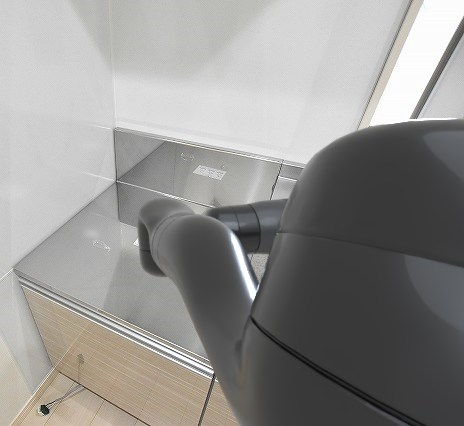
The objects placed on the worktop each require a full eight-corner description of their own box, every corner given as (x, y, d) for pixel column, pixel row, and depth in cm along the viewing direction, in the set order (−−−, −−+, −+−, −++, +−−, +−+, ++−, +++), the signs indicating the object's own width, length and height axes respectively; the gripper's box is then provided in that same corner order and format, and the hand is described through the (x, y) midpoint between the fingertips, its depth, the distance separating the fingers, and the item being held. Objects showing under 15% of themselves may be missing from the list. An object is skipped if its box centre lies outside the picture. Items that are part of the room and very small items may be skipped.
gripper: (318, 238, 33) (449, 224, 34) (262, 178, 45) (362, 169, 46) (299, 283, 37) (416, 269, 39) (253, 217, 49) (344, 209, 50)
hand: (387, 215), depth 42 cm, fingers open, 8 cm apart
